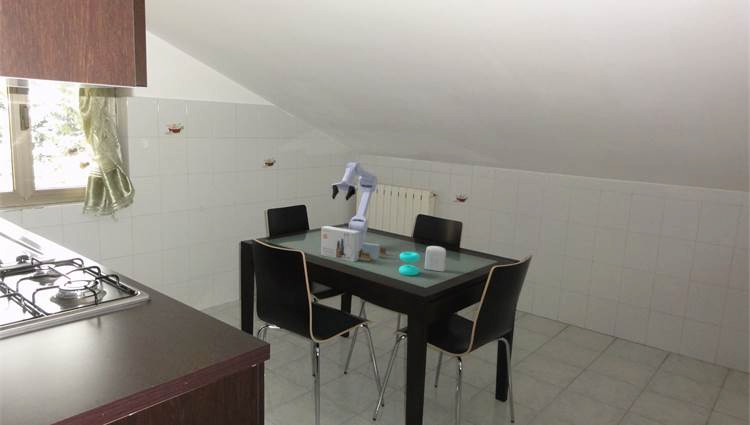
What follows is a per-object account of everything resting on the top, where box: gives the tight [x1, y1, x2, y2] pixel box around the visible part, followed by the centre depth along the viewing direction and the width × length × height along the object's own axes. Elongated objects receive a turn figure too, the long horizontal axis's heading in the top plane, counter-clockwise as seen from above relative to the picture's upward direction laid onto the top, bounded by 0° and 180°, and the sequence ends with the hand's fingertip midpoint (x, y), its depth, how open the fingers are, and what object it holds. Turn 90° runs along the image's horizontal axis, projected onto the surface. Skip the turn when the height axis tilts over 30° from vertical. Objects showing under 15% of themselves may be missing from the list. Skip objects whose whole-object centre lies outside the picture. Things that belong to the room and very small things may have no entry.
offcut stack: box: [360, 251, 372, 261], centre depth 286 cm, size 2×5×4 cm, turn 70°
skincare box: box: [320, 225, 360, 262], centre depth 287 cm, size 21×5×16 cm, turn 62°
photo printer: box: [424, 245, 447, 273], centre depth 271 cm, size 10×4×12 cm, turn 72°
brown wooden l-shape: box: [359, 246, 387, 257], centre depth 295 cm, size 12×14×4 cm
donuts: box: [398, 251, 421, 277], centre depth 264 cm, size 10×10×10 cm
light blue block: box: [362, 242, 381, 259], centre depth 293 cm, size 3×9×7 cm, turn 70°
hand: (339, 198), depth 281 cm, fingers open, 7 cm apart
